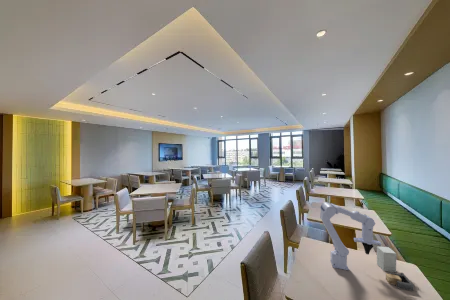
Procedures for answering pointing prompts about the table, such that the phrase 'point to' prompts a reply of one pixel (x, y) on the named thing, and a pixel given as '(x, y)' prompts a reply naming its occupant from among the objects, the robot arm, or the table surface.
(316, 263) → the table surface
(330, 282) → the table surface
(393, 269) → the supplement box
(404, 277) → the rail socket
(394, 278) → the tan block
